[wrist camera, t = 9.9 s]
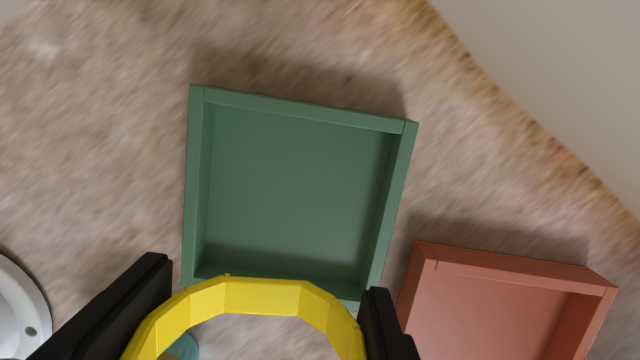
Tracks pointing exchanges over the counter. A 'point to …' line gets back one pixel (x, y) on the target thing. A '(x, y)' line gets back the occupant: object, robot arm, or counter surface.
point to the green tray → (290, 190)
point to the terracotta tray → (499, 305)
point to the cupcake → (181, 349)
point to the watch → (246, 299)
